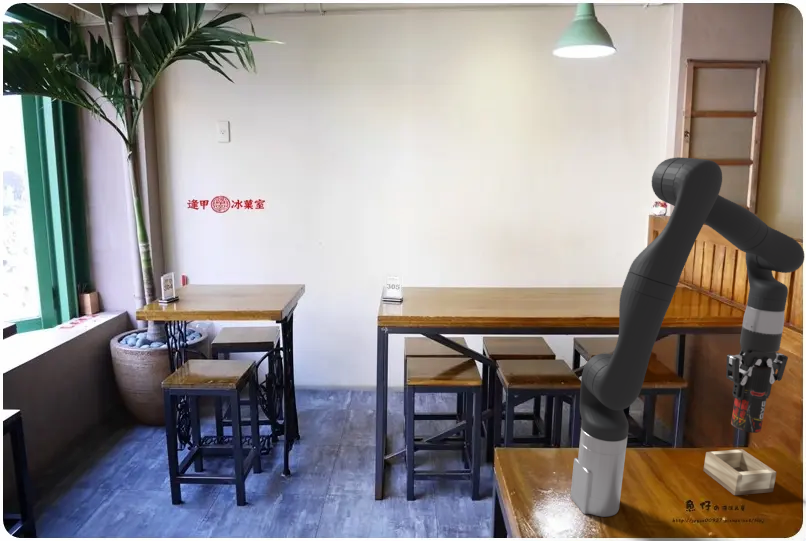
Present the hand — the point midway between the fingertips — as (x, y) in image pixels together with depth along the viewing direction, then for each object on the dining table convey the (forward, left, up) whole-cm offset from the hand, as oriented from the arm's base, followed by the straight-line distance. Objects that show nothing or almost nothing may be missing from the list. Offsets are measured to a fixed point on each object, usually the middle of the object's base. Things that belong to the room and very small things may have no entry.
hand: (750, 397), depth 125 cm
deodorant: (0, 0, -7) cm, 7 cm away
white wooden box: (0, 0, -21) cm, 21 cm away
